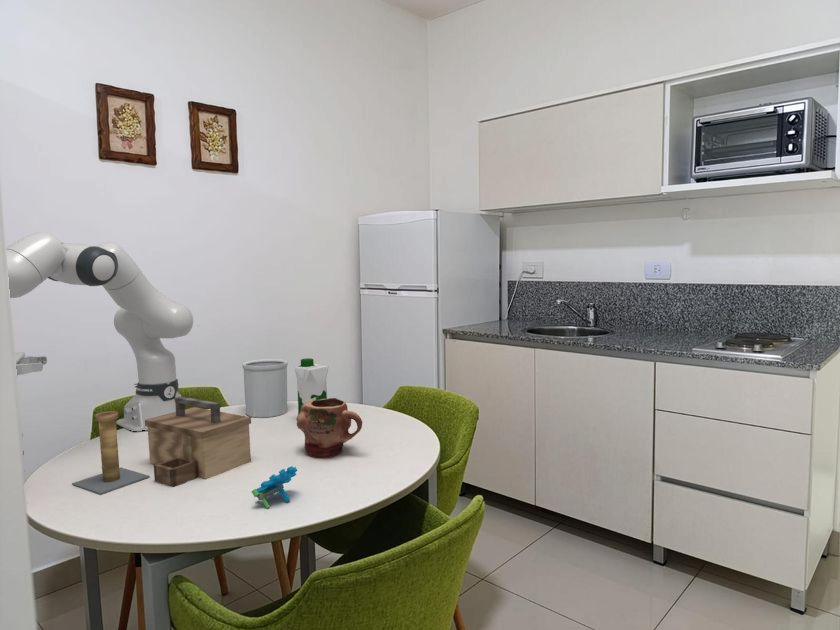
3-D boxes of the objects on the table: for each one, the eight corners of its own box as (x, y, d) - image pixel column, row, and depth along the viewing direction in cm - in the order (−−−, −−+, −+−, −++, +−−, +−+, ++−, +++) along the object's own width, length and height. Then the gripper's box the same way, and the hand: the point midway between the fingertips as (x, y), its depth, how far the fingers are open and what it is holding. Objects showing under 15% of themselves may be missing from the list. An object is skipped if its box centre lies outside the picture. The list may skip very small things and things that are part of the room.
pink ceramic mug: (373, 448, 159) (372, 398, 158) (354, 464, 148) (353, 410, 146) (308, 443, 166) (306, 394, 164) (285, 457, 154) (283, 405, 153)
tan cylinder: (95, 480, 139) (91, 415, 137) (115, 474, 143) (110, 410, 141) (107, 484, 136) (102, 417, 135) (126, 477, 140) (122, 412, 139)
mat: (72, 484, 138) (72, 483, 138) (121, 468, 148) (121, 467, 148) (100, 494, 131) (100, 493, 131) (149, 477, 141) (149, 475, 141)
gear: (286, 479, 134) (299, 457, 128) (300, 501, 132) (314, 480, 126) (243, 500, 126) (255, 478, 120) (257, 524, 124) (270, 503, 118)
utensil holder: (276, 404, 210) (274, 356, 209) (297, 412, 199) (295, 361, 198) (237, 412, 201) (235, 362, 199) (257, 421, 190) (254, 367, 188)
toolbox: (123, 471, 146) (118, 407, 144) (196, 447, 164) (193, 390, 162) (180, 489, 133) (176, 419, 132) (253, 461, 152) (250, 399, 150)
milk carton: (315, 416, 194) (313, 356, 192) (333, 420, 188) (331, 359, 186) (293, 422, 187) (291, 360, 185) (311, 427, 181) (309, 363, 179)
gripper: (-45, 363, 116) (38, 355, 122) (-24, 349, 134) (47, 343, 140) (-41, 394, 116) (41, 385, 123) (-21, 376, 134) (50, 369, 141)
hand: (44, 363), depth 132 cm, fingers open, 8 cm apart
